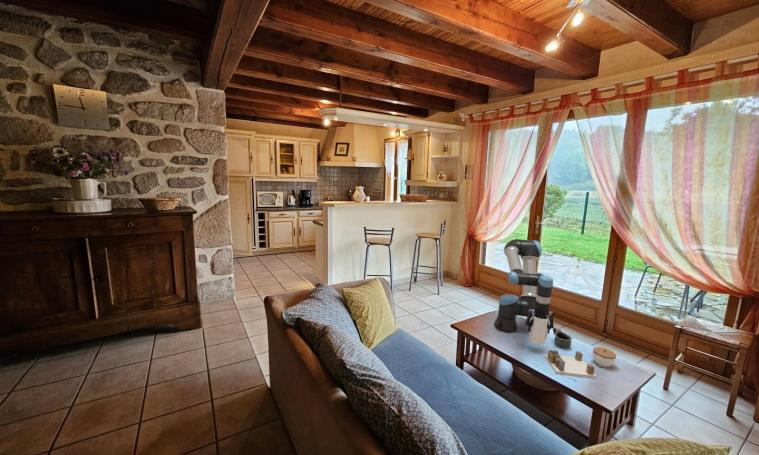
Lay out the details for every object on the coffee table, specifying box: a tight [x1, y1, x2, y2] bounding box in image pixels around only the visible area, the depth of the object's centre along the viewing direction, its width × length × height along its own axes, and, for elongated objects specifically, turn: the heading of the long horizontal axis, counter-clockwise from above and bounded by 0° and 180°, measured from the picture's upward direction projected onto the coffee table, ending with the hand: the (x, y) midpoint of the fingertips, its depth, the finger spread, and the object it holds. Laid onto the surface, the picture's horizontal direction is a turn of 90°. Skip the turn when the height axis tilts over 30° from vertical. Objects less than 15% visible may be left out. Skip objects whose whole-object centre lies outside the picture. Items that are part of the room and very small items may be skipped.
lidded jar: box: [592, 346, 617, 368], centre depth 183 cm, size 11×11×9 cm
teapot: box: [552, 326, 573, 349], centre depth 203 cm, size 10×12×10 cm
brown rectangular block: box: [551, 350, 563, 367], centre depth 180 cm, size 9×3×5 cm, turn 173°
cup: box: [529, 313, 549, 345], centre depth 193 cm, size 8×8×16 cm
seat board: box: [544, 349, 598, 380], centre depth 179 cm, size 17×20×6 cm
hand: (537, 337), depth 194 cm, fingers closed on cup, 8 cm apart
